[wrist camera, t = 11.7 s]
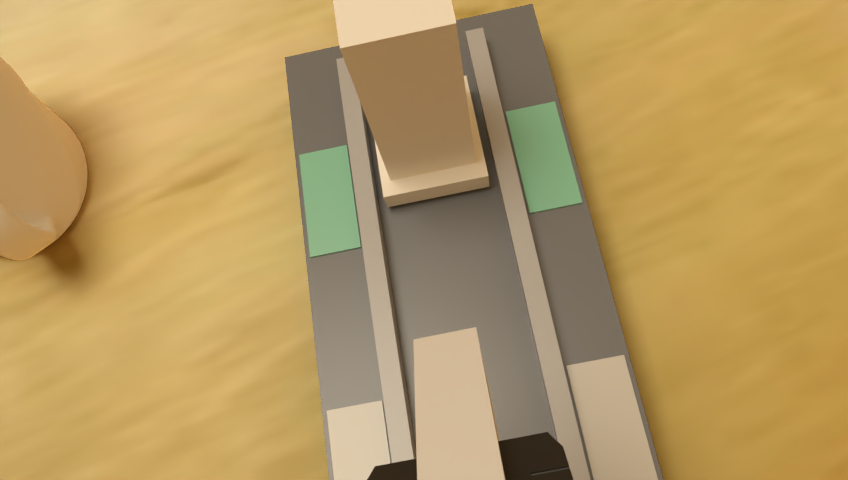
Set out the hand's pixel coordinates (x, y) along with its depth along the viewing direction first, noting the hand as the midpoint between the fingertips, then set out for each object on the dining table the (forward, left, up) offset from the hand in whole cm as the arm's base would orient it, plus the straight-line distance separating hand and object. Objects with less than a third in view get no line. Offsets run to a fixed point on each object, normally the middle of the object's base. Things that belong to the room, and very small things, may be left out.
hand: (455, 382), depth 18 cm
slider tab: (0, +13, -11) cm, 16 cm away
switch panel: (0, +7, -14) cm, 16 cm away
